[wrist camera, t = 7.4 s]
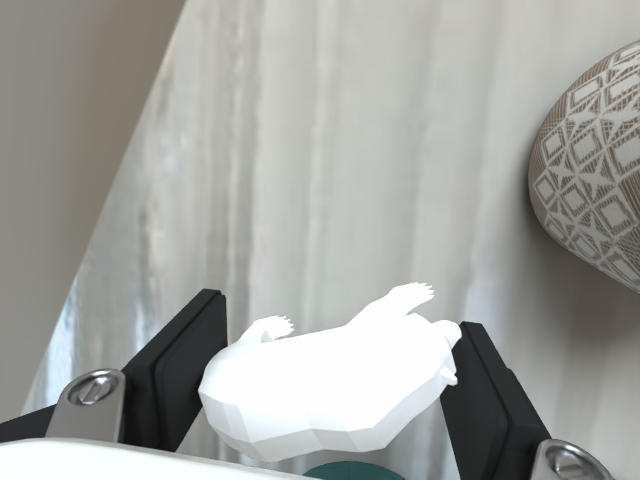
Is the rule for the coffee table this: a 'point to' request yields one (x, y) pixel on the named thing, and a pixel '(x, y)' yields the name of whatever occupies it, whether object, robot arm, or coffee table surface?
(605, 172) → the planter
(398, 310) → the figurine
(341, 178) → the coffee table surface
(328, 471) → the pot
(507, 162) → the coffee table surface
